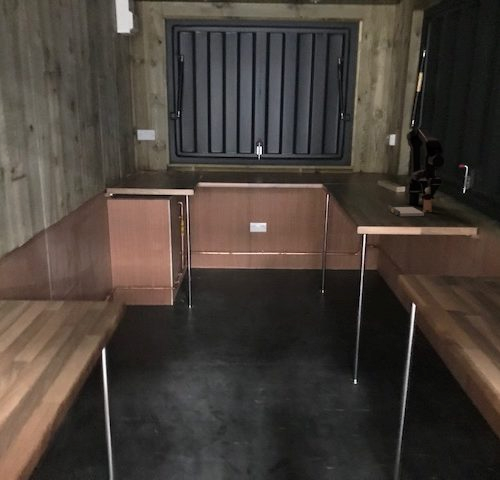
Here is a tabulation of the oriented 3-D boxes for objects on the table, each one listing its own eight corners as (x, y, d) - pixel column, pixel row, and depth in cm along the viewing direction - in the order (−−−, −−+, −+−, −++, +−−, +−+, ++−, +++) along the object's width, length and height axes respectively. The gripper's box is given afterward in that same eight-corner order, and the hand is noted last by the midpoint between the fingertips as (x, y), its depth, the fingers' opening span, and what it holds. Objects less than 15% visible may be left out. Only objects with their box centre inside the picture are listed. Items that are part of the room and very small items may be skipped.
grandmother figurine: (432, 210, 262) (434, 186, 258) (435, 212, 258) (437, 187, 255) (417, 210, 261) (419, 186, 258) (420, 212, 258) (422, 187, 254)
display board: (387, 210, 263) (387, 205, 263) (412, 209, 264) (412, 205, 264) (397, 216, 249) (397, 211, 248) (423, 215, 250) (424, 210, 249)
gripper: (407, 163, 262) (405, 193, 266) (421, 167, 244) (419, 199, 248) (428, 162, 263) (426, 192, 267) (444, 167, 245) (441, 199, 249)
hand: (427, 195), depth 258 cm, fingers open, 9 cm apart
